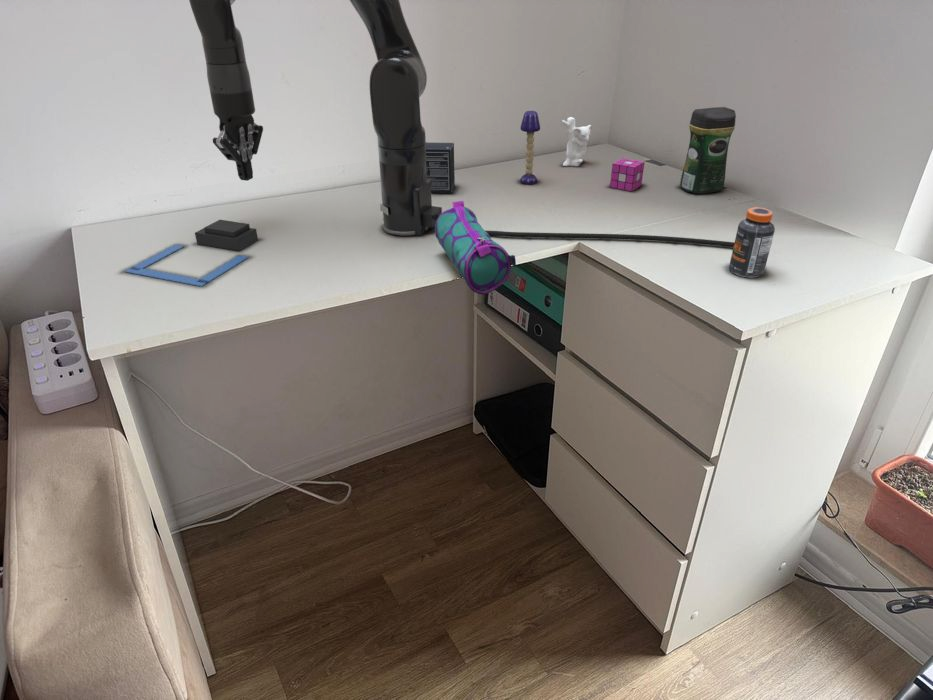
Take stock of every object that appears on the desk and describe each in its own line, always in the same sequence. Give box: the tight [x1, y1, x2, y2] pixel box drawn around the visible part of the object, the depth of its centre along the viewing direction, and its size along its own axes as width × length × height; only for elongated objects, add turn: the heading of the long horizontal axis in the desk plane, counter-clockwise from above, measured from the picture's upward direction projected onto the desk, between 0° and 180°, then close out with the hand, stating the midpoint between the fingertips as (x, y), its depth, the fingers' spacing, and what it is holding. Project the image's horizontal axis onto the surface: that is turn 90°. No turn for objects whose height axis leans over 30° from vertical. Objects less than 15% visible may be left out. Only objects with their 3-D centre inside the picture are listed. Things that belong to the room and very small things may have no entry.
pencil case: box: [434, 200, 517, 295], centre depth 116 cm, size 21×9×10 cm, turn 17°
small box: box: [426, 141, 456, 194], centre depth 155 cm, size 11×6×10 cm, turn 84°
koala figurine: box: [561, 116, 593, 167], centre depth 172 cm, size 8×7×12 cm
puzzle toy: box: [609, 157, 645, 192], centre depth 158 cm, size 6×6×6 cm
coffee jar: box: [679, 106, 737, 194], centre depth 153 cm, size 10×8×19 cm
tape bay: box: [124, 244, 249, 287], centre depth 122 cm, size 17×13×1 cm
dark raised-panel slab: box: [194, 219, 259, 252], centre depth 130 cm, size 10×6×4 cm, turn 69°
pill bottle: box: [728, 206, 776, 278], centre depth 115 cm, size 6×6×11 cm
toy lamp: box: [519, 110, 541, 185], centre depth 158 cm, size 5×5×17 cm
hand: (246, 179), depth 133 cm, fingers closed
